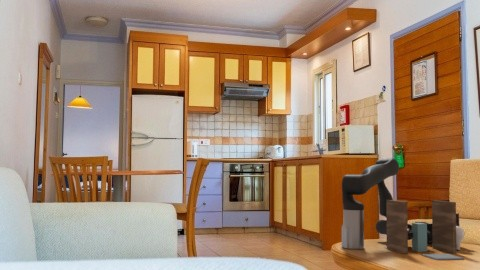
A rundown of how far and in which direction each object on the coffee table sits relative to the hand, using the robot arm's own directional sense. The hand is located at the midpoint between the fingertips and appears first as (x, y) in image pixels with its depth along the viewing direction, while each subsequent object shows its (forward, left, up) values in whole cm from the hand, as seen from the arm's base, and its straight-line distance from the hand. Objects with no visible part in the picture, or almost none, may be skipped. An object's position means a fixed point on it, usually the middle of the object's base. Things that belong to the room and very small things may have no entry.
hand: (421, 235), depth 224 cm
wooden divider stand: (0, +1, -7) cm, 7 cm away
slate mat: (-1, -17, -7) cm, 19 cm away
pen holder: (+17, +26, -7) cm, 32 cm away
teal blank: (0, +2, -7) cm, 7 cm away
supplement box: (+23, +14, -7) cm, 28 cm away
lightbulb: (+18, +1, -7) cm, 19 cm away
